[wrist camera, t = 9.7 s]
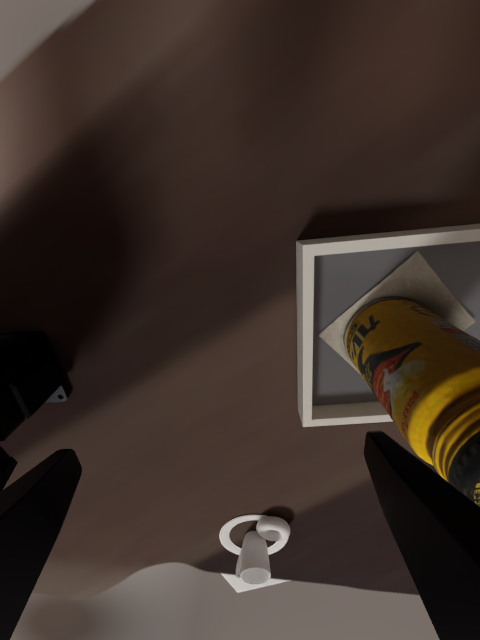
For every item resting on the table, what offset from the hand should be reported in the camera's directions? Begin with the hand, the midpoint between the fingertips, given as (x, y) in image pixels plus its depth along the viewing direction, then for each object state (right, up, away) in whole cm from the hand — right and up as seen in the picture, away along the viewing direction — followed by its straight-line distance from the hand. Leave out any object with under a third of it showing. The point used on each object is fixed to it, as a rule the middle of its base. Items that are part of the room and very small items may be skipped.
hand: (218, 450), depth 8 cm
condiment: (+12, +4, +12) cm, 17 cm away
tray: (+12, +3, +13) cm, 18 cm away
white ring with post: (+5, -21, +24) cm, 32 cm away
